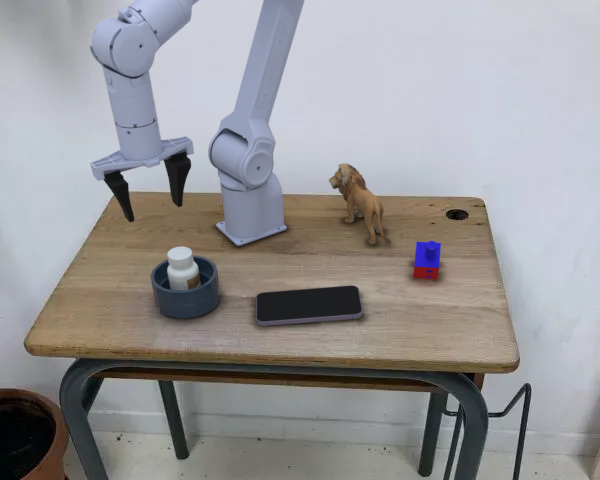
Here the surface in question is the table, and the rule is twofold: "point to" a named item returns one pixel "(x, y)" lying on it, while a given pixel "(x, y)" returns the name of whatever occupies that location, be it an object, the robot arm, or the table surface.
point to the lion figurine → (359, 199)
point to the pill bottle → (182, 269)
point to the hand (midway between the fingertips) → (154, 211)
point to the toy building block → (427, 260)
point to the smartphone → (308, 305)
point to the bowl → (186, 291)
